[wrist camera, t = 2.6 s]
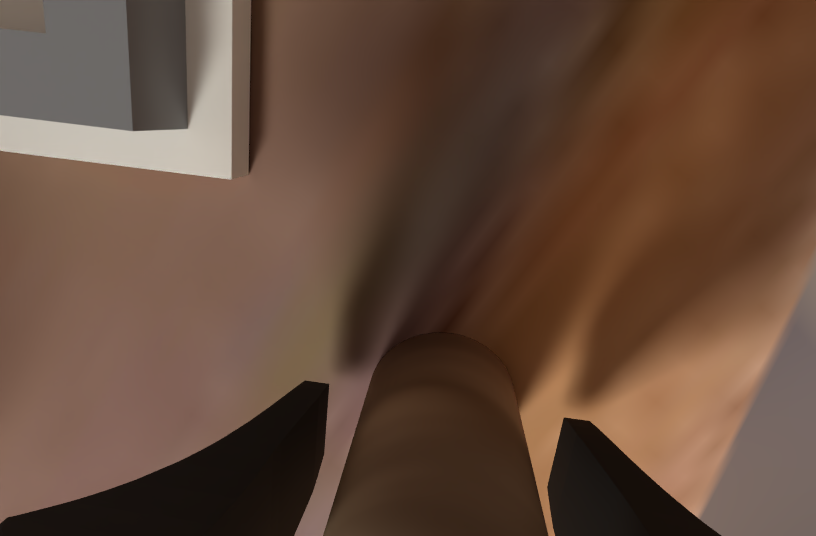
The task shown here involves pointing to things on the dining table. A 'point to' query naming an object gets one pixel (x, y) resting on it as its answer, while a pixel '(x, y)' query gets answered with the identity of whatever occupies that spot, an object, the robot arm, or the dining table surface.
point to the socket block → (128, 83)
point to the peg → (438, 448)
